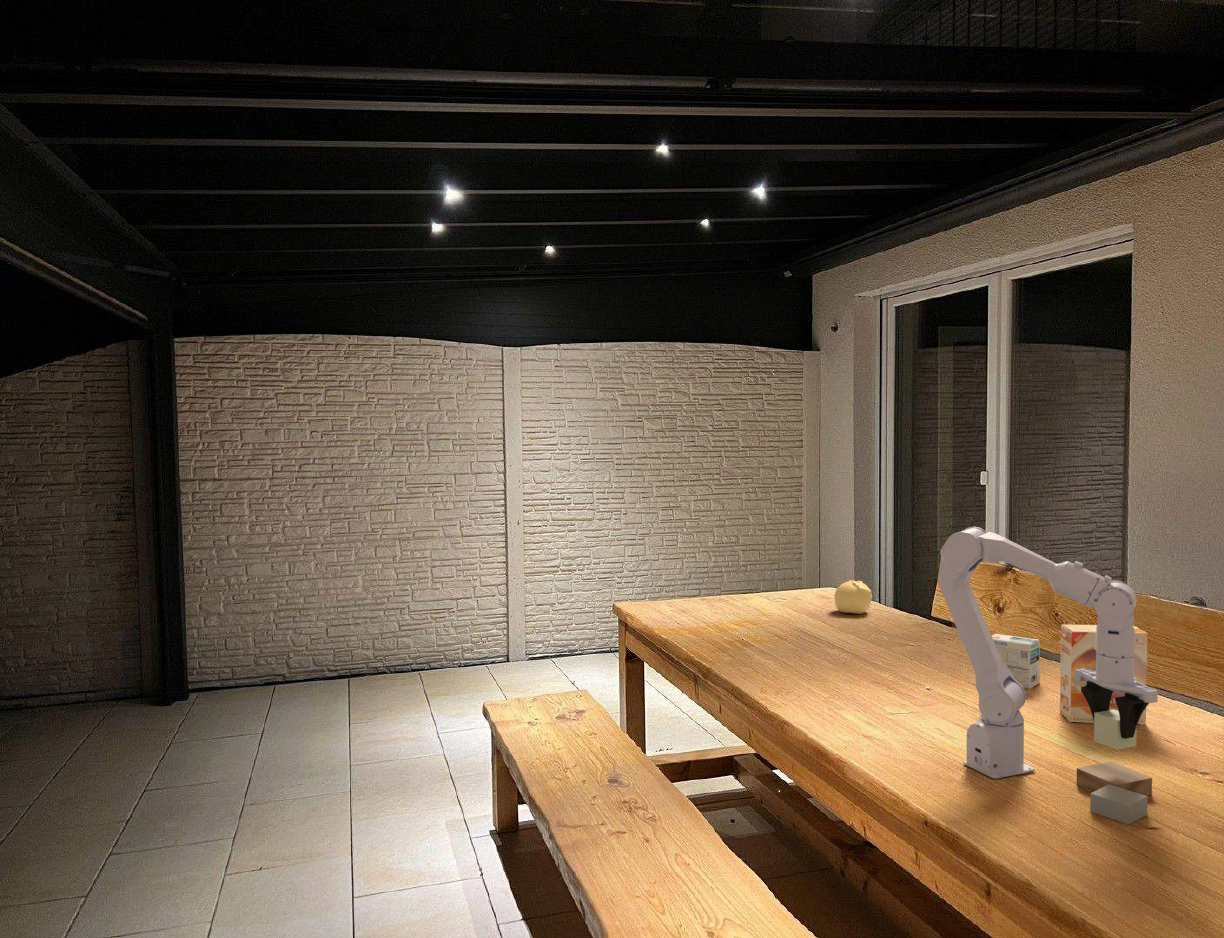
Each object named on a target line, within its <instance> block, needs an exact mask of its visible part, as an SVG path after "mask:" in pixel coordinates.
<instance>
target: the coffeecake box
mask: <svg viewBox="0 0 1224 938" xmlns="http://www.w3.org/2000/svg"><path fill="white" fill-rule="evenodd" d="M1097 625H1098V624H1067V623H1066V624H1060V664H1059V667H1060V671H1059V672H1060V673H1059V679H1060V680H1059V683H1060V684H1059V685H1060V686H1059V687H1060V688H1059V713H1060V714H1061V715H1062V716H1063V715H1064V717H1066V718H1067V719H1066V718H1065V719H1066V720H1067V721H1068V722H1069V723H1070V722H1083V723H1082V724H1094V720H1093V716H1092V713H1091V710H1090V707H1089V704H1088V702H1087V700H1086V698H1085V697H1084V695H1083V693H1082V692H1081V687H1084V686H1086V685H1087V682H1084V681H1081V682H1080V681H1077V680H1075V670H1076V669H1083V668H1084V669H1088V670H1092V671H1096V632H1097V630H1096V627H1097ZM1133 627H1134V629H1135V655H1134V678H1136V681H1137V682H1139V683H1141V684H1143V685H1145V686H1147V685H1148V684H1147V681H1148V680H1147V677H1148V675H1147V674H1148V671H1147V670H1148V668H1147V667H1148V632H1146V631H1145V630H1144V629H1140V628H1139V627H1137V626H1135V625H1133ZM1147 687H1148V686H1147ZM1122 696H1124V697H1125V694H1122V693H1119V692H1116V691H1113V693H1112V697H1111V701H1110V706H1109V710H1112V709H1114V710H1117V711H1118V707H1117V704H1116V701H1115V697H1122ZM1146 718H1147V707H1146V708H1145V710H1144V711H1143V713H1142V715H1141V717H1140V719H1139V721H1138V724H1140V725H1139V726H1141V725H1142V726H1146V722H1147V719H1146ZM1085 722H1086V723H1085Z"/></svg>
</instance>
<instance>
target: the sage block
mask: <svg viewBox="0 0 1224 938" xmlns="http://www.w3.org/2000/svg"><path fill="white" fill-rule="evenodd" d="M1093 724H1094V726H1093V742H1094V743H1095V742H1096V743H1098V744H1101V745H1103V746H1106V747H1108V748H1111V749H1114V750H1117V751H1118V750H1119V751H1120V750H1123V749H1129V748H1134V747H1137V733H1138V732H1137V729H1138V728H1137V727H1138V725H1137V726H1136V730H1135V733H1134V737H1132V738H1127V739H1124V738H1121V733H1120V716H1119V711H1117V710H1114V709H1112V710H1107V711H1101V712H1095V713H1094V723H1093Z"/></svg>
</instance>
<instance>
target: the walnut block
mask: <svg viewBox="0 0 1224 938" xmlns="http://www.w3.org/2000/svg"><path fill="white" fill-rule="evenodd" d="M1078 785H1079V786H1078ZM1107 785H1113V786H1116V787H1119V788H1122V789H1126V790H1129V791H1132V792H1135V793H1138V794H1142V795H1145V796H1147V797H1150V796H1149V795H1151V796H1152V795H1153V777H1151V776H1148V775H1146V774H1144V773H1141V772H1139V771H1136V770H1135V769H1131V768H1129V767H1126V766H1124V765H1121V764H1118V763H1117V762H1114V761H1112V760H1111V761H1105V762H1102V763H1096V764H1091V765H1085V766H1081V767H1080V766H1079V767H1076V786H1078V787H1080V786H1081V787H1080V788H1083V789H1085V788H1086V789H1085V790H1087V789H1088V790H1087V791H1089V790H1090V791H1089V792H1091V793H1092V792H1095V791H1097V790H1099V789H1101V788H1103V787H1105V786H1107Z"/></svg>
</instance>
